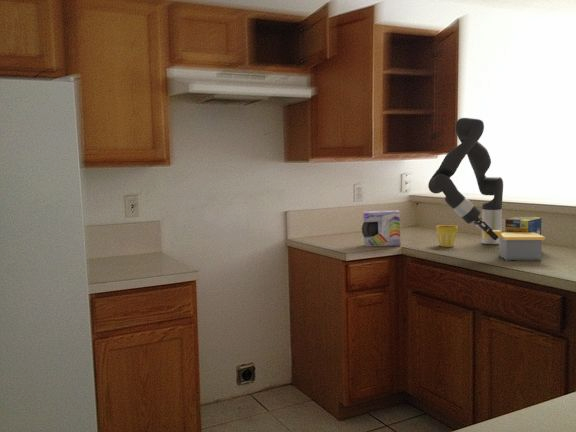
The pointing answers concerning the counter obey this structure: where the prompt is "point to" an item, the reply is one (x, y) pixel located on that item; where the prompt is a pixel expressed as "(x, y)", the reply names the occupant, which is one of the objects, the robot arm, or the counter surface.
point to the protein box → (523, 224)
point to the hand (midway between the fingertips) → (495, 237)
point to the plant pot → (446, 235)
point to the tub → (520, 249)
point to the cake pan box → (381, 228)
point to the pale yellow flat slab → (515, 235)
